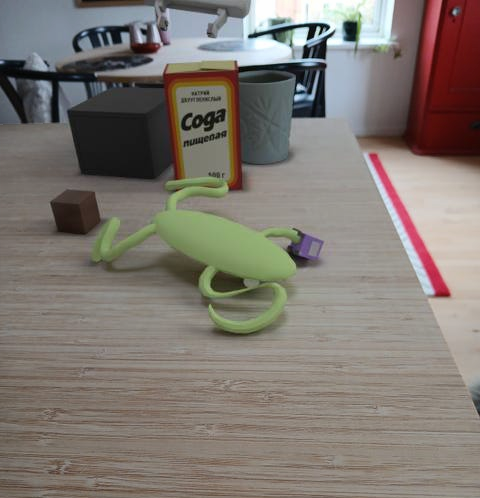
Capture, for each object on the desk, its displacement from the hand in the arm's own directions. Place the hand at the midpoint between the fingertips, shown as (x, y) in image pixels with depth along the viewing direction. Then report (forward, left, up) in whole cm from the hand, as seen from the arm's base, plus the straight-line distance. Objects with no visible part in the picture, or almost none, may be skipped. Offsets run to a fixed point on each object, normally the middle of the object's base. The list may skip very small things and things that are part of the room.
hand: (186, 32), depth 91 cm
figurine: (+20, -50, -16) cm, 56 cm away
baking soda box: (+13, -28, -16) cm, 35 cm away
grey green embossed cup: (+18, -15, -16) cm, 28 cm away
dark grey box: (-2, -21, -16) cm, 27 cm away
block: (+1, -45, -16) cm, 48 cm away
